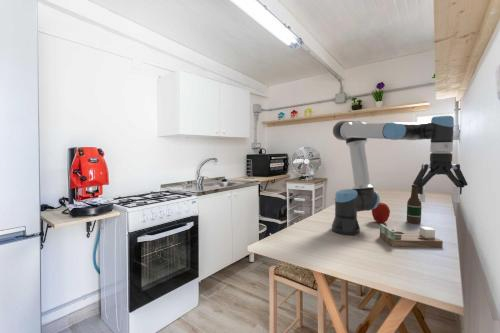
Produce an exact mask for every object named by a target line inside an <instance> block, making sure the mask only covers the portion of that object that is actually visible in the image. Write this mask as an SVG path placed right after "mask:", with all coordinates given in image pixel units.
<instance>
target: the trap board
mask: <svg viewBox="0 0 500 333" xmlns="http://www.w3.org/2000/svg"><path fill="white" fill-rule="evenodd" d="M379 238H381V239H382V240H383V241H385V242H386V243H388V244H389V245H390V246H391V247H407V248H408V247H410V248H411V247H413V248H443V245H444V244H443V243H444V242H443V240H441V239H440V238H438V237H436V236H435V238H425V237H423V236H421V235H420V231H402V230H401V231H396V230H395V229H393V228H392V229H391V228H390V227H388V226H386V225H384V223H379Z"/></svg>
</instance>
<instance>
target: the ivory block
mask: <svg viewBox="0 0 500 333" xmlns="http://www.w3.org/2000/svg"><path fill="white" fill-rule="evenodd" d="M419 232H420V235H421V236H423V237H425V238H435V237H436V229H434V228H432V227H430V226H420V227H419Z"/></svg>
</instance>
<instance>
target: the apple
mask: <svg viewBox="0 0 500 333" xmlns="http://www.w3.org/2000/svg"><path fill="white" fill-rule="evenodd" d="M390 214H391V210H390V207H389V205H387V204H386V203H384V202H379V205H378V206H377V207H376V208H375V209H372V210H371V215H372V217H373V220H374V221H375V222H376V223H379V224H384V223H386V222H387V221H388V220H389V218H390Z"/></svg>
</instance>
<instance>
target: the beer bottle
mask: <svg viewBox="0 0 500 333" xmlns="http://www.w3.org/2000/svg"><path fill="white" fill-rule="evenodd" d="M406 202H407V203H406V222H407V223H409V224H416V225H420V224H421V222H422V207H423V206H422V202H421V201H419V194H418V186H417V185H414V184H412V185H411V192H410V197H409V198H408V200H407V201H406Z"/></svg>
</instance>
